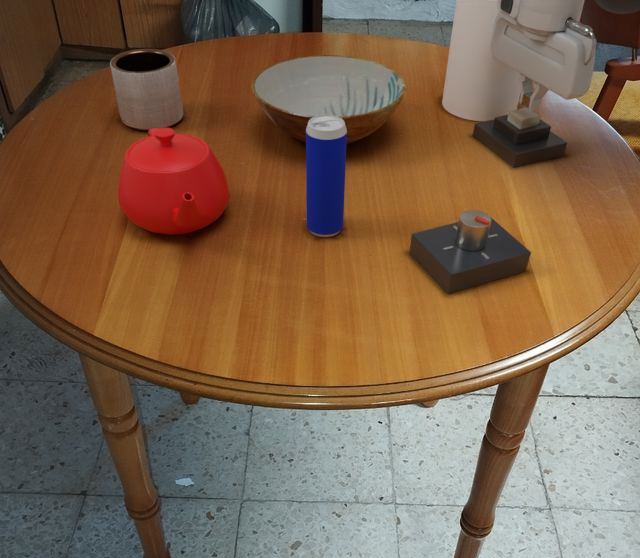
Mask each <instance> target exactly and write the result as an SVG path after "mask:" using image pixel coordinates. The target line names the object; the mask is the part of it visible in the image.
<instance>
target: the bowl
mask: <svg viewBox="0 0 640 558" xmlns="http://www.w3.org/2000/svg"><path fill="white" fill-rule="evenodd" d="M250 85H251V87H250V88H251V91H252V95H254V97H255V99H256V101H257V103H258V105H259V106H260V108H261V109H262V111H263V113H264V114H265V115H266V116H267V118H268V119H269V120H270V121H271V122H272V123H273V125H275V126H276V127H277V128H278V129H280V130H281V131H282V132H284V133H285V134H286V135H289V136H291V137H292V138H294V139H297V140H298V141H300V142H302V143H304V144H306V128H307V125H308V122H309V120H310V119H311V118H313V117H315V116H318V115H334V116H337V117H340V118H341V119H343V120H344V122H345V125H346V129H347V141H346V146H348V145H351V144H353V143H356V142H357V141H359V140H361V139H364V138H367V137H368V136H370V135H371V134H373V133H374V132H376V131H377V130H378V129H379V128H380V127H382V126H383V125H384V124H385V123H386V122H387V121H388V120H389V118H390V117H391V116H392V115H394V113H395V111H396V110H397V108H398V107H399V105H400V104H401V102H402V100H403V98H404V96H405V94H406V91H407V84H406V81H405V80H404V78H403V77H402V75H400V73H398V72H397V71H396V70H394V69H392V68H391V67H389V66H387V65H384V64H382V63H380V62H377V61H373V60H371V59H370V60H369V59H366V58H362V57H361V58H360V57H356V56H350V55H348V56H347V55H338V54H337V55H336V54H317V55H305V56H298V57H294V58H289V59H284V60H282V61H278V62H275V63H273V64H270V65H269V66H266V67H264V68H263V69H261V70H260V71H259V72H257V73H256V75H255V76H254V77H253V79H252V80H251V84H250Z"/></svg>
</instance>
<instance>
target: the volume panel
mask: <svg viewBox="0 0 640 558" xmlns="http://www.w3.org/2000/svg"><path fill="white" fill-rule="evenodd" d="M458 223H459V221H456V222H452V223H448V224H445V225H440V226H438V227H433V228H428V229H424V230H421V231H416V232H413V233H411V238H410V244H409V254H410V255H411V257H412V258H414V259H415V261H416V262H417V263H418V264H419V265H420V266H421V267H422V268H423V270H424V271H425V272H427V274H428V275H429V276H430V277H431V278H432V279H433V280H434V281H435V282H436V283H437V284H438V286H440V287H441V288H442V289H443V291H444V292H446V294H447V295H450V294H453V293H457V292H460V291H463V290H467V289H471V288H473V287H477V286H481V285H485V284H488V283H491V282H494V281H499V280H502V279H506V278H508V277H512V276H515V275H519V274H522V273H525V272H527V270H528V266H529V263H530V258H531V254H532V251H530V250H529V249H528V248H527V247H526V246H525V245H524V244H523V243H521V242H520V241H519V240H518V239H517V238H515V237H514V236H513V235H512V234H511V233H509V231H507V230H506V229H505V228H504V227H503V226H501V224H499V222H497V221H496V220H495V219H494V218H492V217H491V225H490V229H489V234H488V238H487V243H486V246H485V247H484V248H483V249H481V250H478V251H468V250H464V249H462V248H460V247H459V246H457V244H456V242H455V239H456V234H457V228H458Z"/></svg>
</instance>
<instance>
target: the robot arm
mask: <svg viewBox="0 0 640 558" xmlns="http://www.w3.org/2000/svg"><path fill="white" fill-rule="evenodd" d="M594 2H595V3H596V4H597V5H598V6H599V7H600V8H601V9H603V10H604V11H607V12H609V13H612V14H618V15H628V14H633V13H636V12H639V11H640V0H594ZM584 4H585V0H498V3H497V7H498V9H499V10H500V11H499V12H498V14H497V16H496V18H495V23H494V28H493V33H492V40H491V52H492V56H493V58H495V59H497V60H498V61H500V62H502V63H503V64H505V65H507V66H509V67H510V68H512V69H514V70H516V71H517V72H519V73H520V75H519V84H520V90H521V93H520V97H519V105H521V106H523V107H524V108H528V109H530V110H531V111H537V110H539V108H540V107H541V102H542V99H543V98H544V97H545V95H547V93H548V92H549V91H550V92H552V93H553V94H555V95H557V96H559V97H561V98H562V99H563V100H566V101H567V100H574V99H577V98H582V97H584V96H585V95H586V94H587V93H588V92H589V91H590V88H591V84H592V79H593V75H594V69H595V61H596V55H597V54H596V52H597V49H596V48H597V41H598V40H597V38H596V35H595V34H594V32H593V31H594V30H593V28H592V27H591V26H590V25H587V24H583V23H582V22H580V21H581V16H582V13H583V8H584Z"/></svg>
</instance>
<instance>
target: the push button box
mask: <svg viewBox="0 0 640 558" xmlns="http://www.w3.org/2000/svg"><path fill="white" fill-rule="evenodd" d="M507 119H508V115H504V116H499V117H495V119H493V120H489V121H478V122H475V123H474V125H473V131H472V137H473V138H474V139H476V140H477V141H478V142H480V143H481V144H482V145H484V146H485V147H486V148H487V149H488V150H490V151H492V152H493V153H494V154H495V155H497V156H498V157H499V158H500V159H502V160H503V161H505V162H506V164H508V165H510V166H511V167H513V168H518V167H521V166H525V165H530V164H535V163H539V162H542V161H543V162H544V161H547V160H551V159H555V158H560V157H564V156H565V154H566V151H567V146H568V141H566V140H565V139H563V138H561V137H560V136H558V135H557V134H555V133H554V132H553V131H552V126H551V125H550V124H548V123H547V122H546V121H544V120H543V119H541V118H540V120H539V124H538V126H534V127H529V128H524V129H519V128H517V127H516V126H514V125H513V124H511V123H510V122H509V121H507Z"/></svg>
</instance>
